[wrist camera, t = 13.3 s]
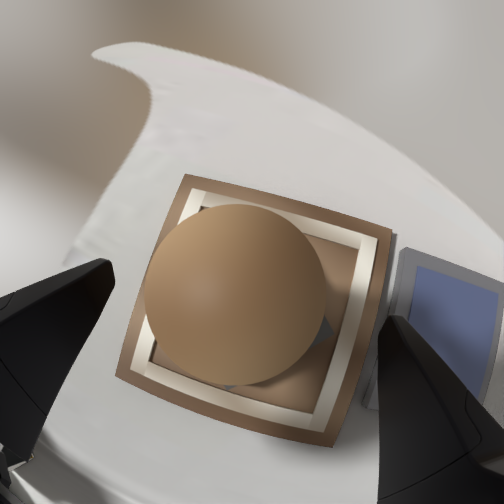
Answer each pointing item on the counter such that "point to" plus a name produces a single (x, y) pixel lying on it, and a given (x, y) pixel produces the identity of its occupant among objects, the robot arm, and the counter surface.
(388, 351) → the robot arm
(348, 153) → the counter surface
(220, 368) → the stamp
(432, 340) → the ink pad
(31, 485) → the counter surface
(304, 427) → the marked board
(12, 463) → the medicine bottle
